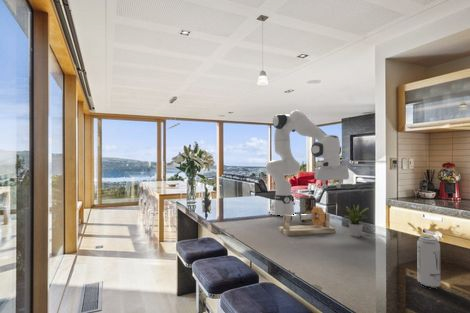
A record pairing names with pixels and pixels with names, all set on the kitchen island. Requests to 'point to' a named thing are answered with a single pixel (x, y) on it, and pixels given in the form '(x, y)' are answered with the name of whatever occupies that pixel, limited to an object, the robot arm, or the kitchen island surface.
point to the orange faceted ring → (320, 216)
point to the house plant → (355, 221)
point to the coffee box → (307, 208)
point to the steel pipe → (303, 216)
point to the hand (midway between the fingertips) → (331, 187)
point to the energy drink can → (428, 261)
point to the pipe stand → (305, 227)
